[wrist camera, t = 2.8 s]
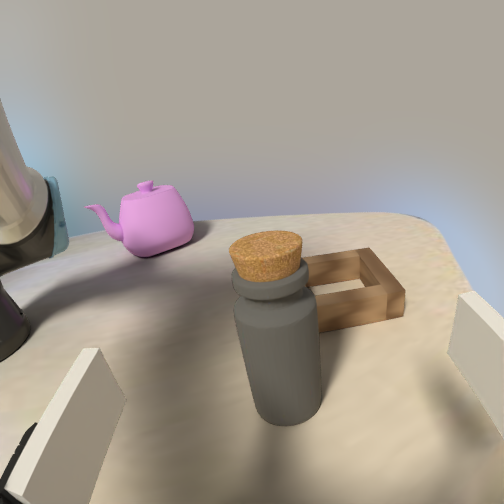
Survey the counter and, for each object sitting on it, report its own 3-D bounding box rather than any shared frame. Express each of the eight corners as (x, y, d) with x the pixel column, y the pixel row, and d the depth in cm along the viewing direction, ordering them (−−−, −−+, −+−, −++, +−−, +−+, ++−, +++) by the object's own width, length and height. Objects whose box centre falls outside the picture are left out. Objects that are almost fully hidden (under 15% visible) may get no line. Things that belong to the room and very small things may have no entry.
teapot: (175, 225, 86) (163, 171, 81) (207, 242, 69) (193, 173, 64) (96, 253, 76) (80, 196, 71) (106, 279, 59) (84, 205, 53)
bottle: (266, 435, 23) (229, 271, 17) (248, 390, 28) (213, 239, 23) (332, 412, 24) (327, 245, 19) (306, 371, 29) (290, 221, 24)
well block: (294, 336, 35) (291, 310, 34) (284, 282, 47) (281, 260, 46) (403, 316, 34) (405, 290, 33) (369, 269, 46) (369, 247, 45)
